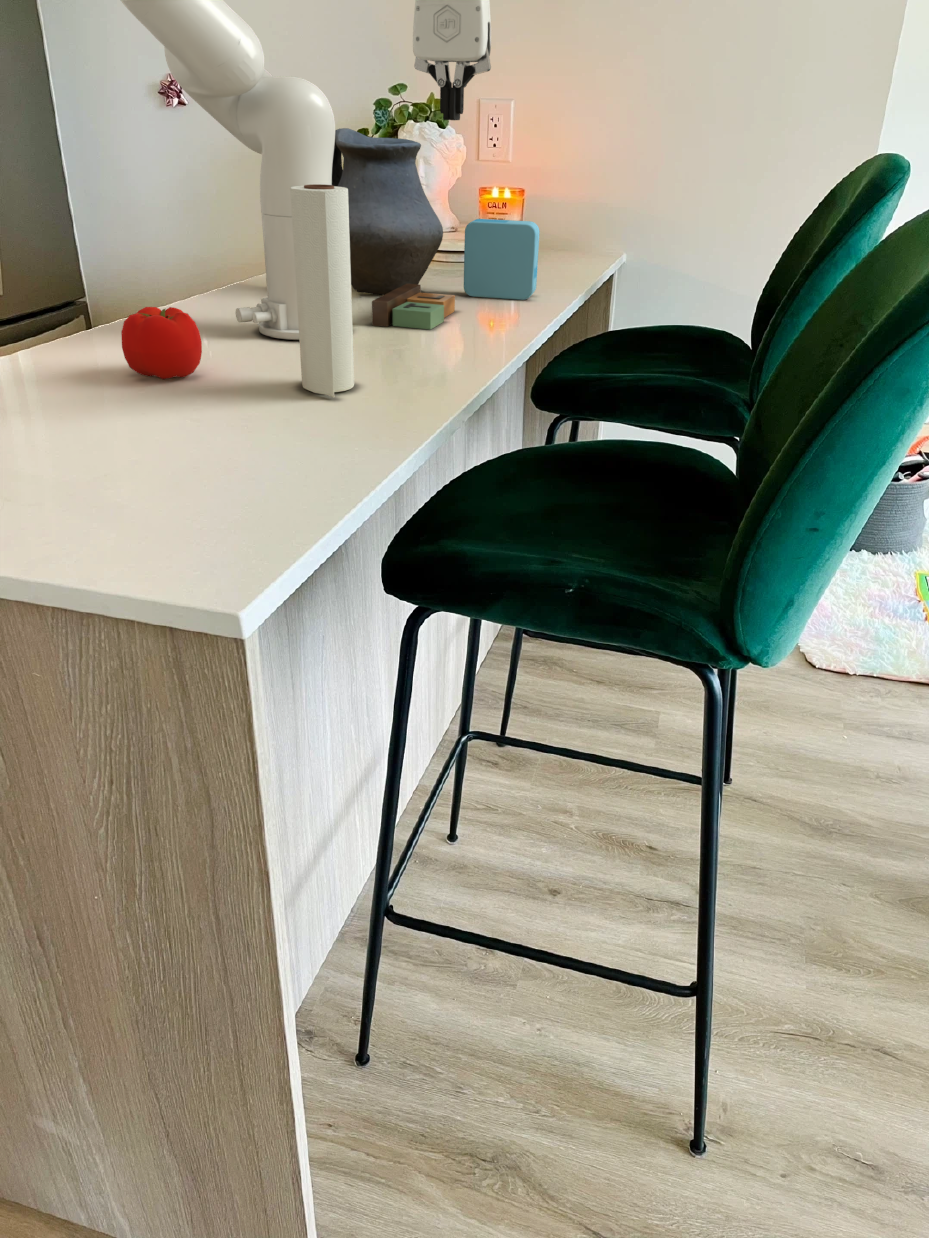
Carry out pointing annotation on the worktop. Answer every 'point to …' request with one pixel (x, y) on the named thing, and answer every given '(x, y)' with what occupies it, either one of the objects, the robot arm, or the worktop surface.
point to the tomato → (161, 342)
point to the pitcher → (385, 211)
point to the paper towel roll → (323, 287)
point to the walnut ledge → (391, 303)
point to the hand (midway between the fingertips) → (451, 119)
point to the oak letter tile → (435, 301)
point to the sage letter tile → (418, 315)
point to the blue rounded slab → (501, 258)
